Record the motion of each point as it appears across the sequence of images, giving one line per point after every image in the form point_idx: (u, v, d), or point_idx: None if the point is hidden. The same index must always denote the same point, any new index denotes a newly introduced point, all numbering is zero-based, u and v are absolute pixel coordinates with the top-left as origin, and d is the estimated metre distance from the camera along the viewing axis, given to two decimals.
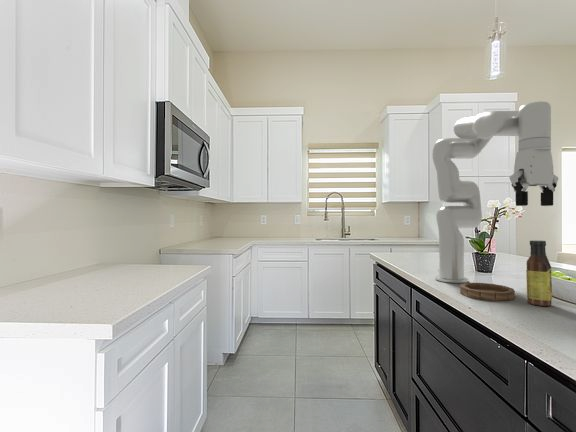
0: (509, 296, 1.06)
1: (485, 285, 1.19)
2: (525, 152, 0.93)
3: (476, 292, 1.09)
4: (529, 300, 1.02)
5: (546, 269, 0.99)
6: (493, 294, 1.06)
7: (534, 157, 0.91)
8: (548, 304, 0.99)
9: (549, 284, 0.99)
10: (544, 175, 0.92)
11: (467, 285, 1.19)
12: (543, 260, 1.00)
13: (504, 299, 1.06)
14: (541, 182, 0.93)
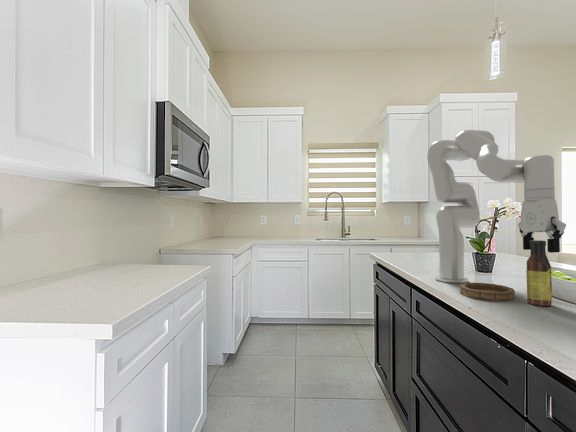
0: (509, 296, 1.06)
1: (485, 285, 1.19)
2: (553, 201, 0.97)
3: (476, 292, 1.09)
4: (529, 300, 1.02)
5: (546, 269, 0.99)
6: (493, 294, 1.06)
7: None
8: (548, 304, 0.99)
9: (549, 284, 0.99)
10: None
11: (467, 285, 1.19)
12: (543, 260, 1.00)
13: (504, 299, 1.06)
14: None
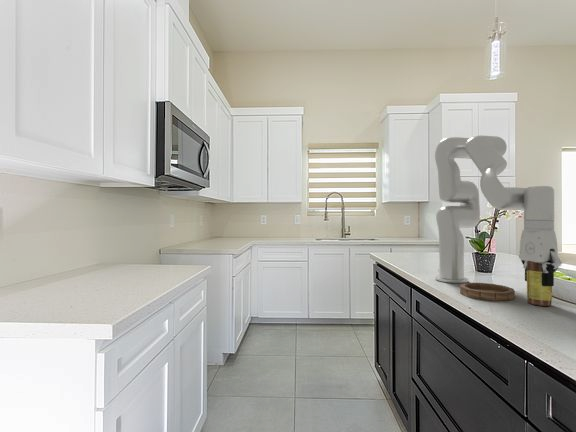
0: (509, 296, 1.06)
1: (485, 285, 1.19)
2: (552, 233, 0.97)
3: (476, 292, 1.09)
4: (529, 300, 1.02)
5: None
6: (493, 294, 1.06)
7: None
8: (548, 304, 0.99)
9: None
10: None
11: (467, 285, 1.19)
12: None
13: (504, 299, 1.06)
14: None
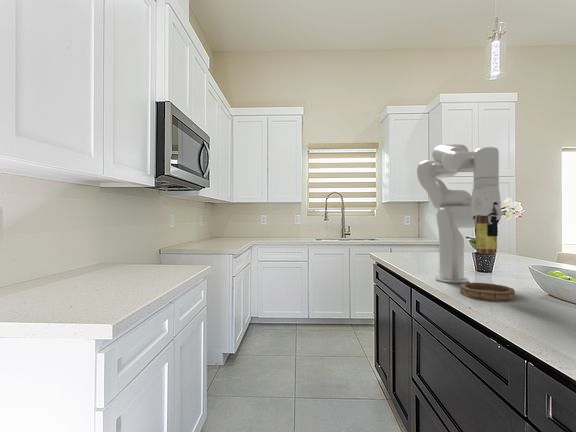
0: (509, 296, 1.06)
1: (485, 285, 1.19)
2: (496, 188, 1.09)
3: (476, 292, 1.09)
4: (477, 250, 1.14)
5: None
6: (493, 294, 1.06)
7: None
8: (493, 252, 1.10)
9: None
10: None
11: (467, 285, 1.19)
12: None
13: (504, 299, 1.06)
14: None
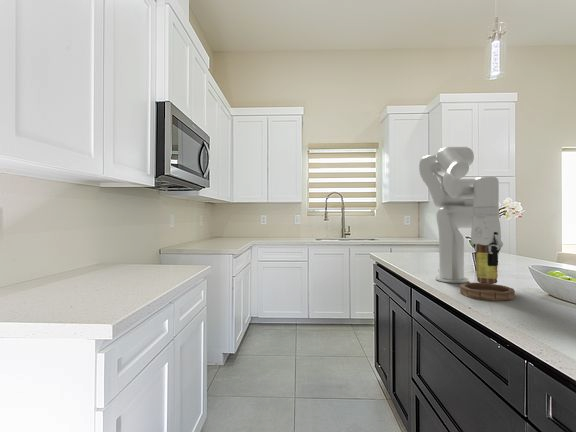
0: (509, 296, 1.06)
1: (485, 285, 1.19)
2: (496, 218, 1.09)
3: (476, 292, 1.09)
4: (478, 279, 1.13)
5: None
6: (493, 294, 1.06)
7: None
8: (493, 282, 1.10)
9: None
10: None
11: (467, 285, 1.19)
12: None
13: (504, 299, 1.06)
14: None
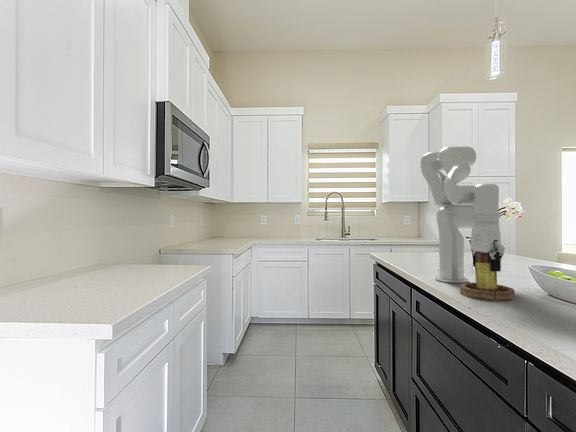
0: (509, 296, 1.06)
1: None
2: (496, 225, 1.09)
3: (476, 292, 1.09)
4: (478, 289, 1.13)
5: None
6: (493, 294, 1.06)
7: None
8: None
9: (494, 274, 1.11)
10: None
11: (467, 285, 1.19)
12: (488, 252, 1.11)
13: (504, 299, 1.06)
14: None
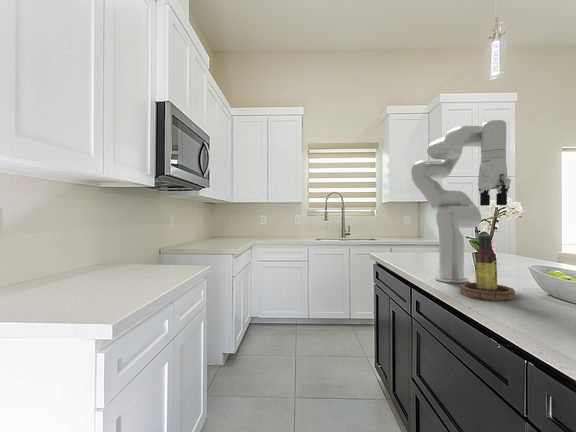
0: (509, 296, 1.06)
1: None
2: (503, 160, 1.10)
3: (476, 292, 1.09)
4: (478, 289, 1.14)
5: (491, 261, 1.11)
6: (493, 294, 1.06)
7: None
8: None
9: (494, 274, 1.11)
10: None
11: (467, 285, 1.19)
12: (488, 252, 1.11)
13: (504, 299, 1.06)
14: None
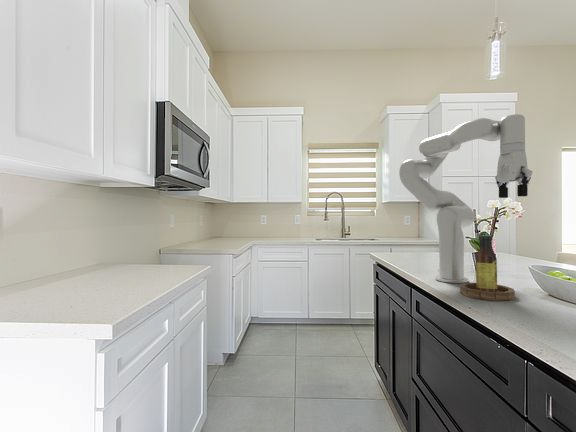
0: (509, 296, 1.06)
1: None
2: (523, 153, 1.14)
3: (476, 292, 1.09)
4: (478, 289, 1.14)
5: (491, 261, 1.11)
6: (493, 294, 1.06)
7: None
8: None
9: (494, 274, 1.11)
10: None
11: (467, 285, 1.19)
12: (489, 253, 1.11)
13: (504, 299, 1.06)
14: None
